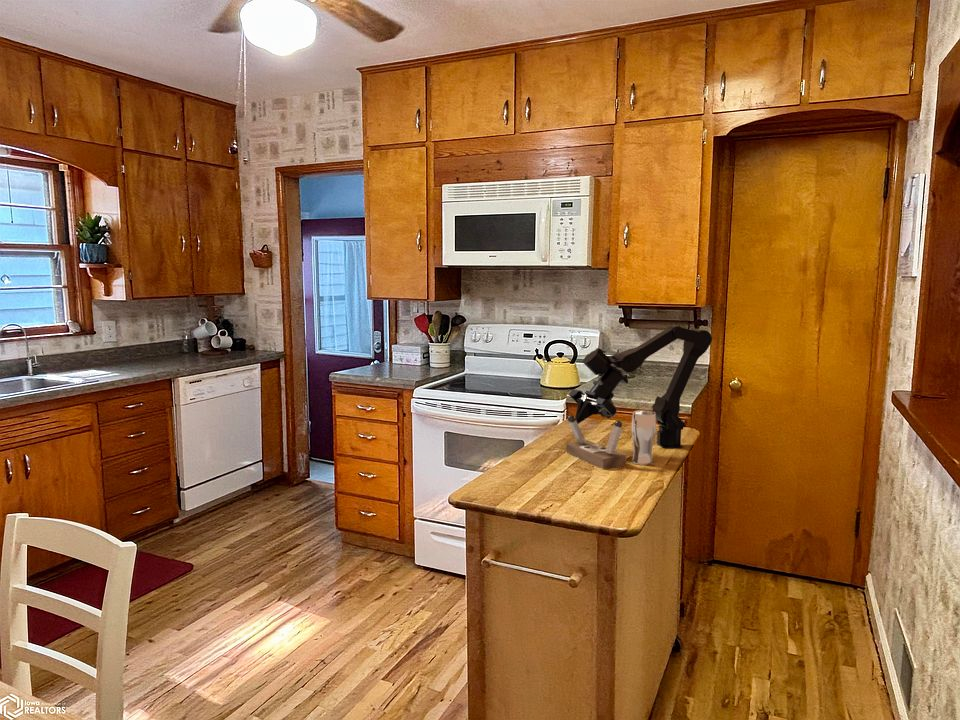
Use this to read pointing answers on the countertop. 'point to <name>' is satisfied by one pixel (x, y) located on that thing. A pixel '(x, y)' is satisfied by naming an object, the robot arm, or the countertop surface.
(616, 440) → the lever
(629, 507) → the countertop surface
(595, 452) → the switch box
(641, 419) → the beer glass
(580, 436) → the lever
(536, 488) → the countertop surface
